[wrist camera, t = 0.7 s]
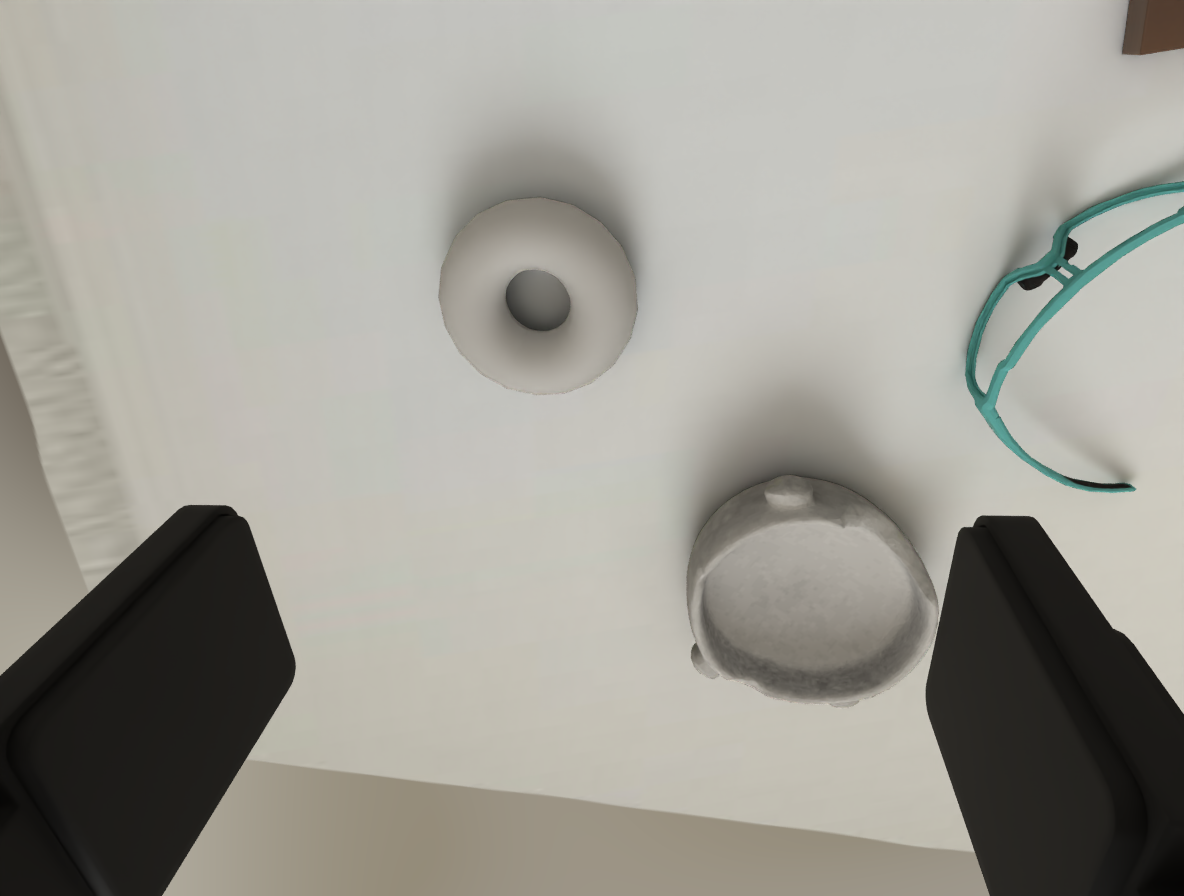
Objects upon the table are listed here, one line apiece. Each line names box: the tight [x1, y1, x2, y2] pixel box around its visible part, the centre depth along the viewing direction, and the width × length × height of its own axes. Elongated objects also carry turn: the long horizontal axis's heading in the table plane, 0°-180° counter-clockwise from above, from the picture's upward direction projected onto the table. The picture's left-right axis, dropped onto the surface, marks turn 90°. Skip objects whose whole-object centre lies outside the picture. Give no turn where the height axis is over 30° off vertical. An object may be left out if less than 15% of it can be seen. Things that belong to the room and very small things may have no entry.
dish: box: [687, 475, 939, 708], centre depth 43 cm, size 14×14×5 cm
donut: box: [439, 197, 638, 395], centre depth 37 cm, size 10×4×10 cm
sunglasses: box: [965, 181, 1184, 493], centre depth 35 cm, size 14×15×5 cm
